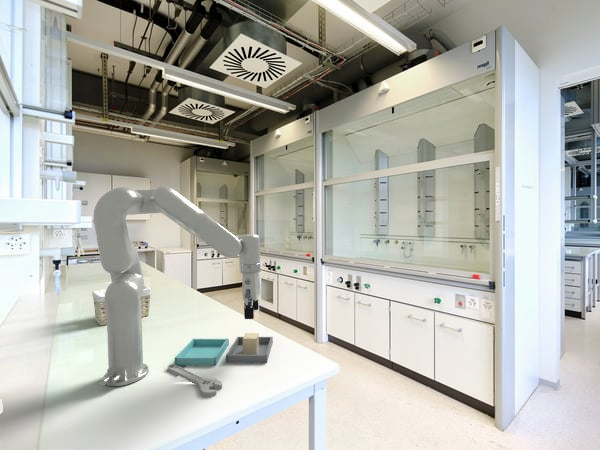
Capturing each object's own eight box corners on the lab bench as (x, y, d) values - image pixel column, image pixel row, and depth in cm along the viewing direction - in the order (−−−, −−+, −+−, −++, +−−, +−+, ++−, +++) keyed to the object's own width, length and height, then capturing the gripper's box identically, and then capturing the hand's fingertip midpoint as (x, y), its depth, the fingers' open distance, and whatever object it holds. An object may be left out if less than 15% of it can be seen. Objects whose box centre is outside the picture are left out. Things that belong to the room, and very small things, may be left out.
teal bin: (215, 366, 101) (215, 358, 101) (174, 366, 101) (174, 358, 101) (228, 346, 117) (228, 338, 117) (193, 346, 117) (193, 338, 117)
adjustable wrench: (165, 371, 100) (165, 365, 100) (184, 364, 105) (184, 358, 105) (207, 400, 83) (207, 393, 83) (227, 389, 88) (227, 383, 88)
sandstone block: (256, 355, 108) (256, 338, 108) (242, 354, 108) (242, 338, 108) (259, 348, 113) (258, 333, 113) (245, 348, 113) (245, 333, 113)
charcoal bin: (267, 364, 102) (266, 355, 102) (226, 364, 103) (226, 355, 103) (272, 344, 118) (272, 336, 118) (237, 344, 119) (237, 336, 119)
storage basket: (144, 309, 166) (143, 282, 166) (153, 316, 155) (152, 287, 154) (92, 319, 150) (91, 290, 150) (98, 328, 138) (97, 296, 138)
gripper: (256, 272, 101) (257, 322, 102) (263, 263, 118) (265, 306, 119) (234, 272, 101) (236, 322, 102) (245, 264, 119) (246, 307, 119)
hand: (251, 314), depth 110 cm, fingers open, 9 cm apart
